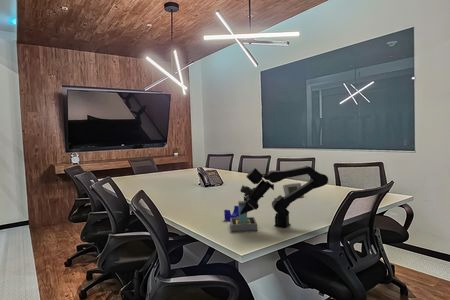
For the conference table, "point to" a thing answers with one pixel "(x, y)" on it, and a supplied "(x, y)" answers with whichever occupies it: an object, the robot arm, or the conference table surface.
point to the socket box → (243, 225)
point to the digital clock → (291, 188)
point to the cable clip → (234, 214)
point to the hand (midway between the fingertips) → (240, 212)
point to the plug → (244, 216)
